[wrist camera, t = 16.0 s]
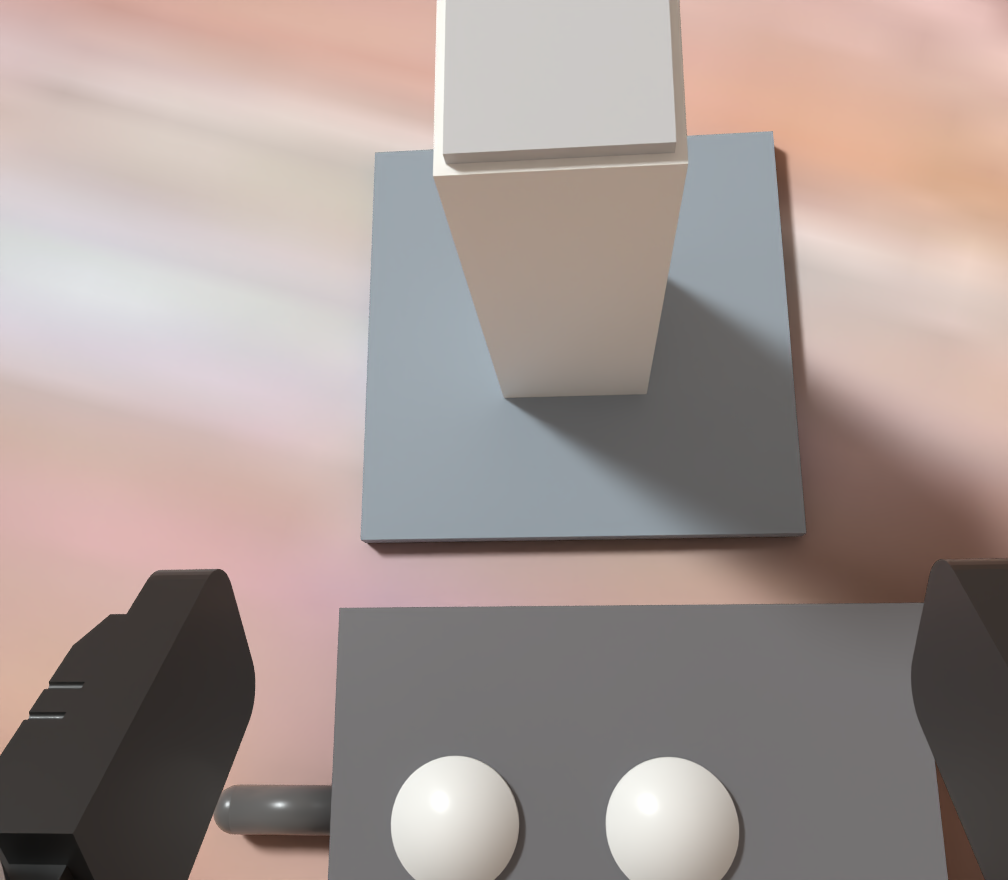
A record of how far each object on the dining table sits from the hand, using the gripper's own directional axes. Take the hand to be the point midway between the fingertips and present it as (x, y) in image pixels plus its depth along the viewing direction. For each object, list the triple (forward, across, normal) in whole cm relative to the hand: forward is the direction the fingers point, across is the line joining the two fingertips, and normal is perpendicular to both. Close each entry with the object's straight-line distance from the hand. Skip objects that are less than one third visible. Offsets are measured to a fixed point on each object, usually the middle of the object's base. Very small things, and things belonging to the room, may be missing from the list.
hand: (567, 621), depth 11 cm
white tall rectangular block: (+16, 0, +4) cm, 17 cm away
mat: (+17, 0, +4) cm, 17 cm away
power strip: (+8, -4, +13) cm, 16 cm away
